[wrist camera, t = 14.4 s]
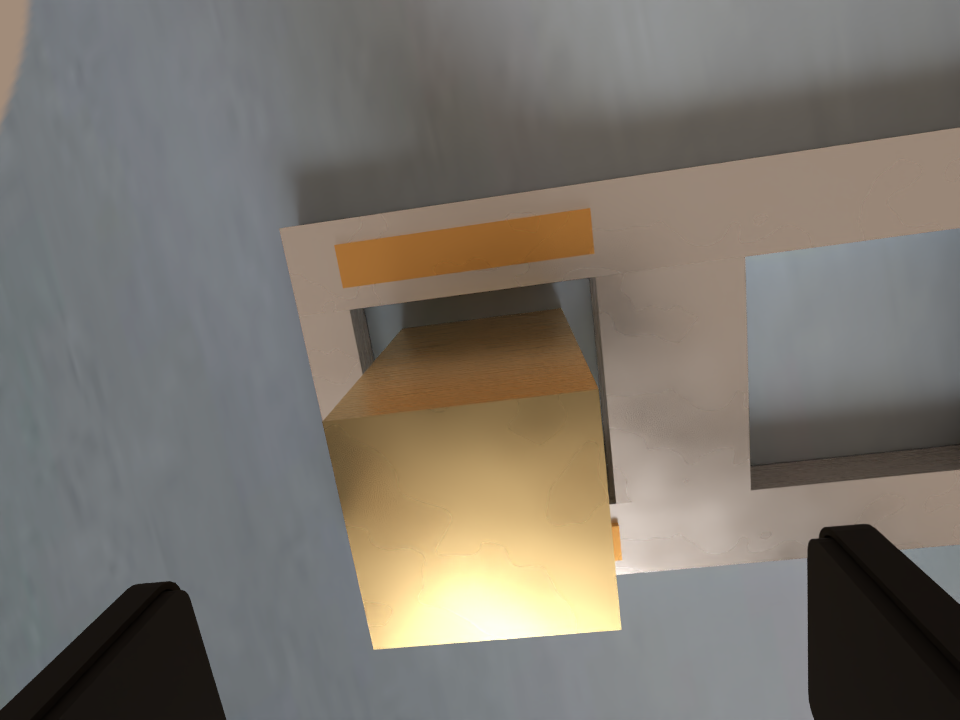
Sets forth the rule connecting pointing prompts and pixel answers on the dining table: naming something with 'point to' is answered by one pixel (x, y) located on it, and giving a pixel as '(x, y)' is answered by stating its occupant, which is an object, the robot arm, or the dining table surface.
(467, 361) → the brass block
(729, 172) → the white flat frame
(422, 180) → the dining table surface
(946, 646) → the robot arm
